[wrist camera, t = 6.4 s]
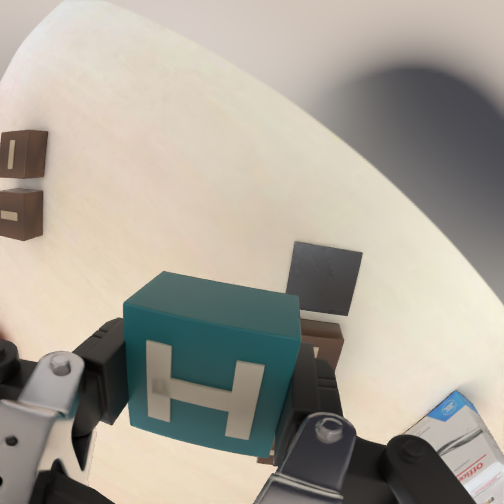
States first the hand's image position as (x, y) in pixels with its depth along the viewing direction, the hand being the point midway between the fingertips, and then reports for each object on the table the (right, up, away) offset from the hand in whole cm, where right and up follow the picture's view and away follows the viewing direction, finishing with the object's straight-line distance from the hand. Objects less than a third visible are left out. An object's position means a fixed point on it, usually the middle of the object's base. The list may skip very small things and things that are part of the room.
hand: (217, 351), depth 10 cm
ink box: (+23, -16, +18) cm, 33 cm away
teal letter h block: (0, 0, +1) cm, 1 cm away
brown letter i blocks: (-22, +11, +16) cm, 29 cm away
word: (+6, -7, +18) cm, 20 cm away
